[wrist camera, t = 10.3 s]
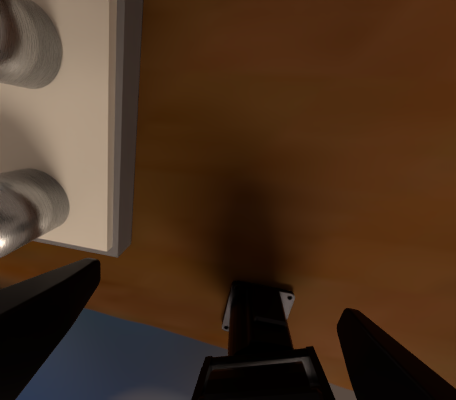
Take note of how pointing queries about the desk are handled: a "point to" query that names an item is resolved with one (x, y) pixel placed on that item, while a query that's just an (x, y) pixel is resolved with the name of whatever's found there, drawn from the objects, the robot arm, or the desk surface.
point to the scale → (83, 122)
